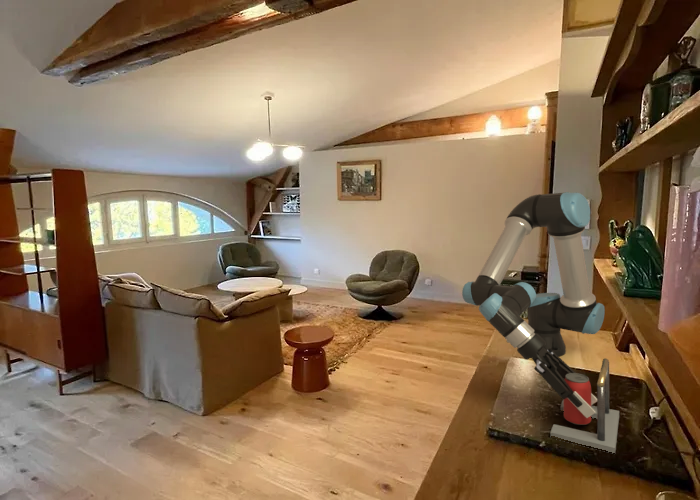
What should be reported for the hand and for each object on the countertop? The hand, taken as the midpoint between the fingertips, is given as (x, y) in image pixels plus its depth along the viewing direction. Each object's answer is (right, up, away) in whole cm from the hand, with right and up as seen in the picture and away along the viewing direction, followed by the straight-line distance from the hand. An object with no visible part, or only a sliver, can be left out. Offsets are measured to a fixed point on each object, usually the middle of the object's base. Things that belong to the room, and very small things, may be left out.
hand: (592, 408), depth 108 cm
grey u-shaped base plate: (-1, -5, +1) cm, 6 cm away
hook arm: (+2, -5, -1) cm, 6 cm away
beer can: (-3, -4, +3) cm, 6 cm away
